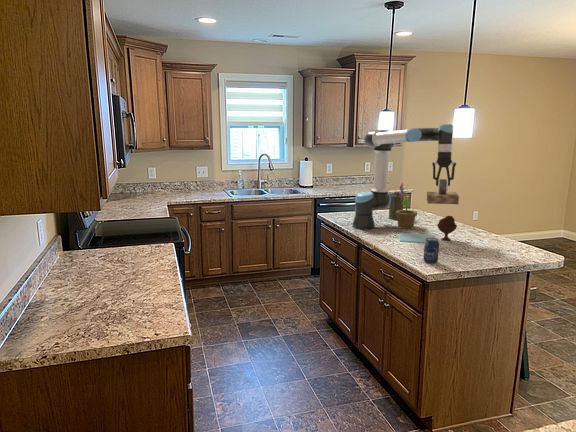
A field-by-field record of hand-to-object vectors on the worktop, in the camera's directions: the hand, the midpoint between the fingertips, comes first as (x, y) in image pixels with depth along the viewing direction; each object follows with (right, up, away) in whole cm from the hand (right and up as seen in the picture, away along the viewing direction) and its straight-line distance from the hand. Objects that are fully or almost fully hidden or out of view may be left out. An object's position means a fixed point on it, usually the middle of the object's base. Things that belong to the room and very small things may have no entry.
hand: (442, 191), depth 255 cm
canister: (-11, -17, +67) cm, 70 cm away
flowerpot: (-11, -22, +40) cm, 47 cm away
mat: (-12, -28, +9) cm, 32 cm away
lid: (0, -6, +1) cm, 6 cm away
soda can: (-19, -38, -37) cm, 57 cm away
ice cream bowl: (+4, -29, +5) cm, 30 cm away
